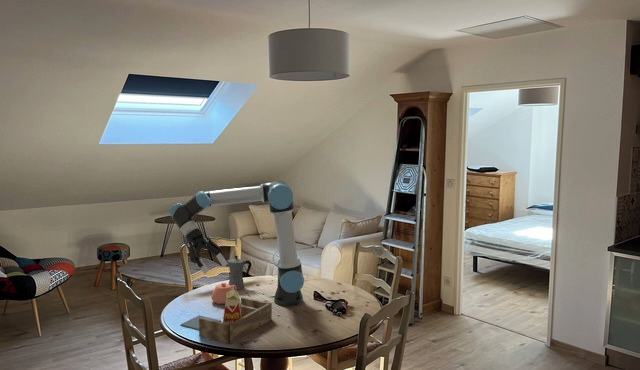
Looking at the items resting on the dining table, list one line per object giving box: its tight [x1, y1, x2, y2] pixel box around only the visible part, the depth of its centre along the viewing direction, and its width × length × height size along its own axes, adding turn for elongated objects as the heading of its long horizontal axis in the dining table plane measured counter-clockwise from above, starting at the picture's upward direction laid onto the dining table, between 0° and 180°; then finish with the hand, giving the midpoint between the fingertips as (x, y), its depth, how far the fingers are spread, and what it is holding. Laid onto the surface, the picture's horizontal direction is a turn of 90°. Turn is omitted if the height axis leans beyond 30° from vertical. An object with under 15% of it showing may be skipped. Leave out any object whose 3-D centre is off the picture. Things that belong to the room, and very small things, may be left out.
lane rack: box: [198, 296, 273, 345], centre depth 240 cm, size 17×32×8 cm, turn 153°
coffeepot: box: [225, 255, 252, 290], centre depth 297 cm, size 15×9×18 cm, turn 82°
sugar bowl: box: [211, 282, 238, 306], centre depth 273 cm, size 12×14×10 cm
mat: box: [180, 314, 222, 331], centre depth 243 cm, size 13×13×1 cm
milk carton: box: [222, 286, 242, 324], centre depth 234 cm, size 9×9×20 cm
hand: (216, 268), depth 242 cm, fingers open, 13 cm apart
